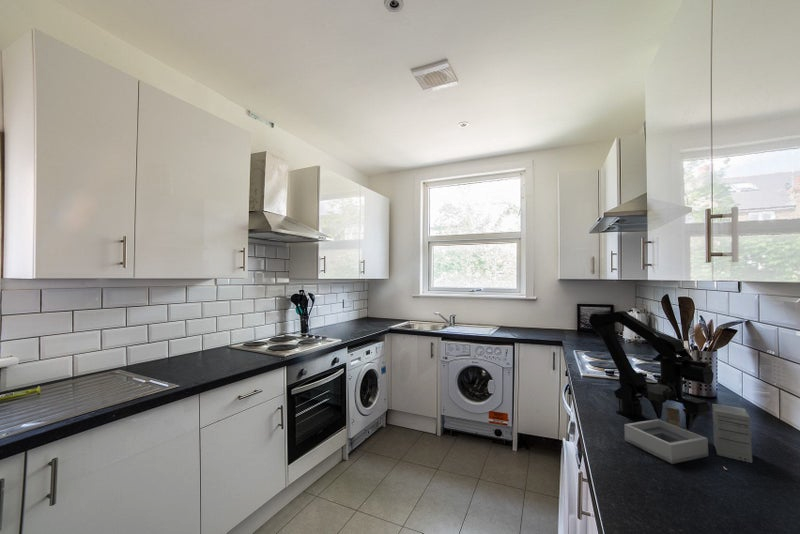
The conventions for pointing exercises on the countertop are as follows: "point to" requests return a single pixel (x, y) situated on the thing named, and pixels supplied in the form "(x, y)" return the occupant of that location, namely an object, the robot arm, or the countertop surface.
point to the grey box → (666, 440)
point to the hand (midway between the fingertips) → (673, 423)
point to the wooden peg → (673, 416)
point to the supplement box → (732, 432)
